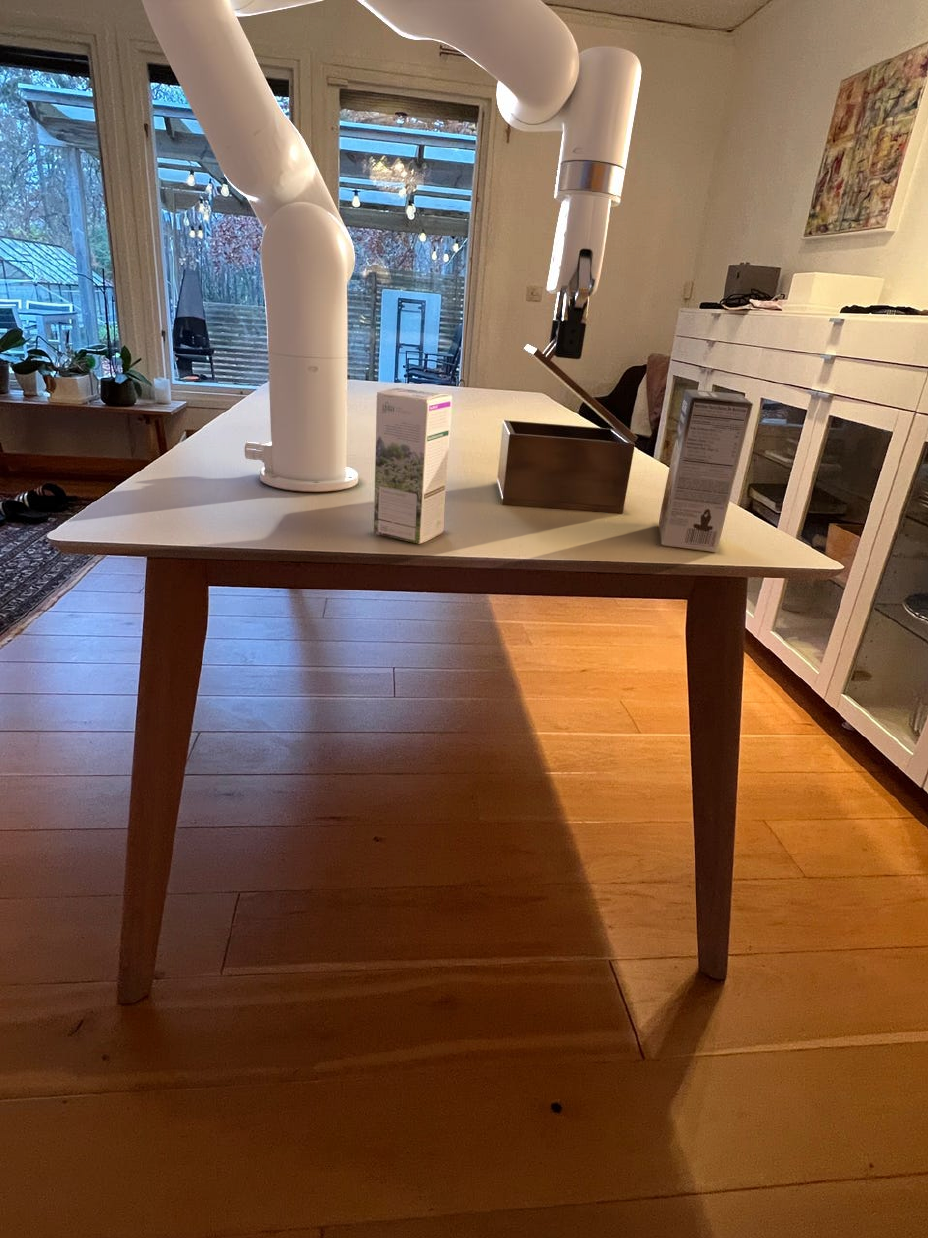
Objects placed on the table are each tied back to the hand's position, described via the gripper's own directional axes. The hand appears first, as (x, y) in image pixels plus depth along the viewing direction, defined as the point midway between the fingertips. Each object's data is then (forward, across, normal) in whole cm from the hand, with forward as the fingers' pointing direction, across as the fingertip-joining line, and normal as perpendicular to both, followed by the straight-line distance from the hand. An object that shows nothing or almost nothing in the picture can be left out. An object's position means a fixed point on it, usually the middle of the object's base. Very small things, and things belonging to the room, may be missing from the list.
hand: (563, 354), depth 86 cm
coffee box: (+18, +15, +15) cm, 28 cm away
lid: (+4, 0, +2) cm, 5 cm away
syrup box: (+19, +21, -17) cm, 33 cm away
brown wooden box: (+18, 0, +2) cm, 18 cm away
